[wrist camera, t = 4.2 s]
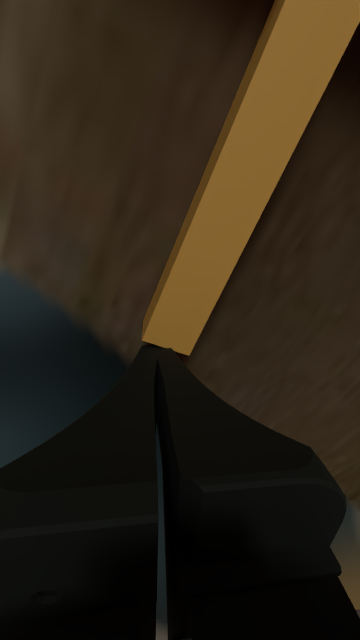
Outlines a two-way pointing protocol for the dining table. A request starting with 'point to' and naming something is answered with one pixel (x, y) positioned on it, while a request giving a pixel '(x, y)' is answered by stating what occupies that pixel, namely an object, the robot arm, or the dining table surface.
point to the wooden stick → (248, 161)
